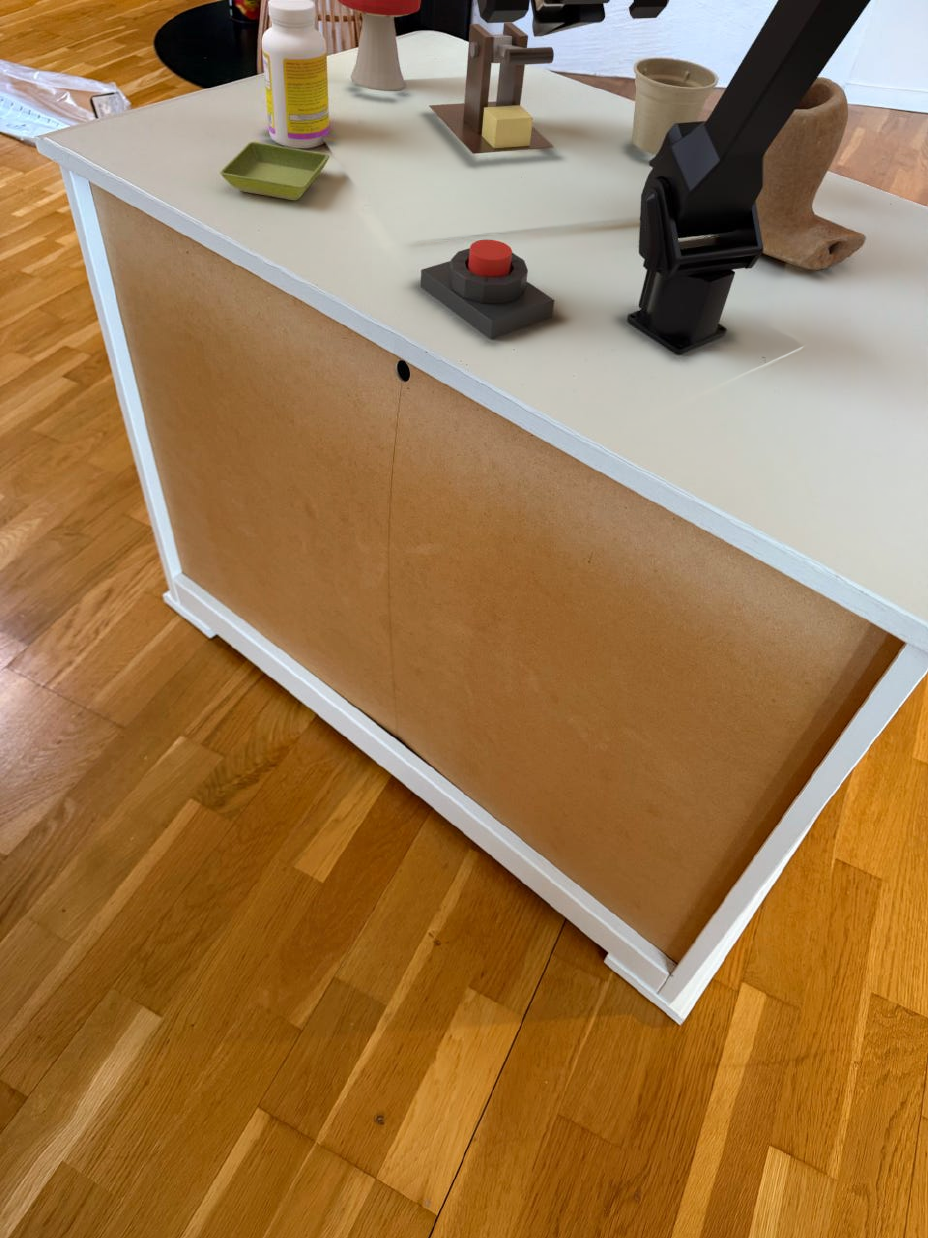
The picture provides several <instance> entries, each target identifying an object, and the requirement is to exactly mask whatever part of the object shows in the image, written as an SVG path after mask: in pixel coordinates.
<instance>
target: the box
mask: <svg viewBox="0 0 928 1238" xmlns="http://www.w3.org/2000/svg"><path fill="white" fill-rule="evenodd" d="M469 252H470V247H467V248H465V249H461V250H459V251H457V252H456V254H455V255H454V256H453V257H452V258H451V259H450V260H449V261H446V262H441V263H439V264H436V265H432V266H429V267H426V268H422V269H421V271H420V288H421V289H422V290H424V291H425V292H426V293H428V294H429V295H431V296H432V297H433V298H434V299H436V300H437V301H439V302H440V304H443V305H444V306H445V307H446V308H447V309H449V310H451V311H452V313H454V314H456V315H457V316H458V317H460V318H461V319H462V320H464V321H465V322H466V323H468V325H471V326H472V327H473V328H474V329H476V330H477V331H479V332H480V333H481V334H482V335H484V336H485V337H486V338H487V339H489V340H493V339H496V338H498V337H499V338H500V337H501V336H504V335H507V334H510V333H512V332H515V331H518V330H521V329H524V328H527V327H530V326H532V325H535V324H537V323H540V322H543V321H546V320H549V319H551V318H552V317H553V312H554V306H555V301H556V300H555V299H554V298H552V297H550V296H549V295H548V294H546V293H545V292H543V291H542V290H540V289H539V288H537V287H536V286H535V285H533V284H531V283H530V282H529V281H528V280H527V279H528V274H529V270H528V269H529V268H528V267H527V264H526V262H525V260H524V259H523V258H522V257H520V256H518V255H516V254H515V253H514V252H512V257H511V265H510V272H509V274H508V275H505V276H502V277H499V278H498V277H484V276H480V275H477V274H474V273H472V272H471V271H470V270H469V269H468V264H469Z"/></svg>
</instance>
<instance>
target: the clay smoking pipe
mask: <svg viewBox="0 0 928 1238" xmlns="http://www.w3.org/2000/svg"><path fill="white" fill-rule="evenodd" d="M848 119H849V106H848V99H847V96H846V93H845V90H843V88H842V86H840V84H839V83H837V82H835V81H833V80H832V79H830V78H827V77H822V76H821V77H819V76H818V77H817V79H816V80H815V82H814V83H813V84H812V86H811V87H810V89H809V90H808V92H807V93H806V95H805V96H804V97H803V99H802V100H801V102H800V103H799V105H798V106H797V107H796V109H795V110H794V112H793V113H792V115H791V116H790V118H789V119H788V120H787V122H786V123H785V125H784V126H783V128H782V129H781V131H780V132H779V133H778V135H777V136H776V138H775V139H774V141H773V142H772V144H771V145H770V146H769V148H768V149H767V151H766V153H765V155H764V185H763V188H762V190H761V192H760V193H759V195H758V197H757V199H756V207H757V213H758V219H759V225H760V231H761V236H762V242H763V253H762V254H764V255H766V256H769V257H772V258H774V259H778V260H780V261H783V262H785V263H788V264H791V265H794V266H797V267H800V268H802V269H806V270H807V269H808V270H816V271H817V270H818V271H819V270H825V269H827V268H829V267H832V266H834V265H836V264H839V263H841V262H843V261H844V260H845V259H847V258H850V257H852V255H854V254H855V253H856V252H858V251H859V250H860V249H861V248H862V247H863V246H864V245H865V242H866V240H867V236H866V235H865V234H864V233H861V232H857V231H855V230H852V229H849V228H847V227H845V226H843V225H840V224H838V223H835V222H833V221H832V220H829V219H826V218H824V217H822V216H819V215H817V214H815V211H814V209H813V203H814V199H815V196H816V194H817V192H818V190H819V188H820V186H821V184H822V182H823V181H824V178H825V177H826V175H827V173H828V172H829V170H830V168H831V166H832V164H833V162H834V159H835V158H836V156H837V153H838V151H839V149H840V146H841V144H842V140H843V138H844V135H845V131H846V128H847V123H848Z"/></svg>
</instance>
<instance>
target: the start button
mask: <svg viewBox="0 0 928 1238" xmlns="http://www.w3.org/2000/svg"><path fill="white" fill-rule="evenodd" d="M469 248H470V252H469V264H468V269H469V270H470V271H471V272H472V273H474V274H477V275H480V276H484V277H498V278H499V277H502V276H505V275H508V274H509V272H510V265H511V257H512V253H513V249H512V247H511V246H510V245H508V244H507V243H505V242H503V241H500V240H495V239H480V240H476V241H474V242H472V243H471V245H470V246H469Z"/></svg>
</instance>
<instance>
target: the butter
mask: <svg viewBox="0 0 928 1238" xmlns="http://www.w3.org/2000/svg"><path fill="white" fill-rule="evenodd" d="M533 120H534V117H533V116H532V115H531V114H530V113H529V112H528V110H527V111H526V109H525V108H524V107H522V106H521V104H520V105H516V106H500V107H485V108H484V116H483V127H482V137H483V138H484V139H485V140H486V141H487V142H488V143H489V144H490V145H491V146H492V147H493V148H494V149H495V148H508V147H521V146H529V145H530V138H531V130H532V127H533Z"/></svg>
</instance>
